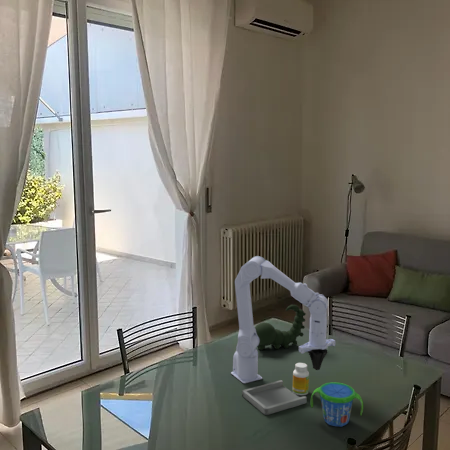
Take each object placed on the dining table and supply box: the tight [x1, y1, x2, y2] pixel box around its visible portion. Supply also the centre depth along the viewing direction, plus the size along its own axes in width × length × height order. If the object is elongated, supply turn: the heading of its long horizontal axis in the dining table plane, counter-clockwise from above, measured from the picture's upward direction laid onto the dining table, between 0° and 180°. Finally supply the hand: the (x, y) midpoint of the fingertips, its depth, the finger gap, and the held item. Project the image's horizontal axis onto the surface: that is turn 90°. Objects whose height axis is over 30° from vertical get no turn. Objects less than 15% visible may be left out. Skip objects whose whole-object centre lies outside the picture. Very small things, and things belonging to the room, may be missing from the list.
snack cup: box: [309, 381, 364, 428], centre depth 153 cm, size 16×10×10 cm
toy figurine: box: [254, 304, 307, 351], centre depth 209 cm, size 9×19×25 cm
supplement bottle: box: [292, 362, 310, 396], centre depth 171 cm, size 5×5×10 cm
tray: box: [241, 379, 308, 416], centre depth 166 cm, size 14×16×2 cm
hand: (316, 368), depth 174 cm, fingers closed
